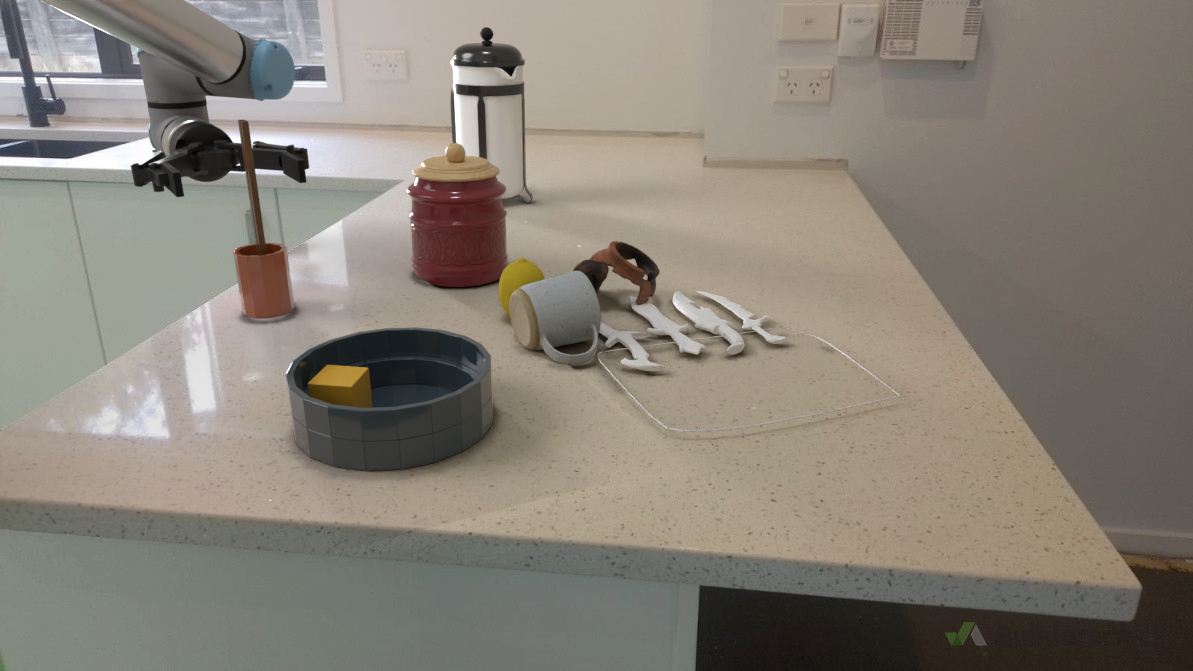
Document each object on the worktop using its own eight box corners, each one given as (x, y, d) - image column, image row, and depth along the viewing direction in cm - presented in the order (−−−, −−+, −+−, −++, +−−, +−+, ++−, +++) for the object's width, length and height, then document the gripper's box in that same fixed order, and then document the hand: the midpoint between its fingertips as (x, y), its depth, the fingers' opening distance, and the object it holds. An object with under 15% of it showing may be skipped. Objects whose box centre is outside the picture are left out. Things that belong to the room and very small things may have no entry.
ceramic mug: (507, 339, 94) (503, 274, 91) (572, 324, 97) (570, 261, 94) (548, 376, 85) (545, 306, 82) (618, 358, 89) (617, 290, 86)
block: (312, 424, 74) (307, 383, 72) (331, 403, 77) (326, 364, 76) (356, 427, 73) (351, 386, 72) (372, 406, 77) (369, 367, 76)
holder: (238, 323, 97) (227, 256, 94) (251, 306, 102) (241, 242, 99) (288, 322, 98) (279, 256, 94) (298, 305, 103) (290, 242, 100)
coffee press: (542, 192, 161) (541, 26, 149) (521, 213, 146) (517, 30, 135) (456, 188, 163) (447, 24, 152) (426, 207, 149) (415, 27, 137)
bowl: (273, 481, 66) (263, 414, 64) (316, 386, 82) (309, 329, 80) (492, 472, 68) (490, 406, 66) (493, 380, 84) (491, 325, 82)
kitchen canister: (507, 288, 109) (503, 152, 103) (406, 289, 109) (396, 152, 102) (509, 259, 121) (506, 135, 115) (419, 259, 120) (410, 134, 114)
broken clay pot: (601, 287, 112) (632, 237, 109) (646, 332, 108) (680, 281, 104) (540, 284, 103) (573, 229, 100) (587, 333, 98) (622, 277, 95)
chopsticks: (269, 312, 99) (241, 121, 90) (265, 308, 100) (237, 119, 91) (275, 311, 99) (248, 121, 90) (271, 307, 100) (244, 119, 92)
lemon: (502, 333, 95) (500, 266, 92) (497, 316, 100) (495, 251, 97) (550, 330, 96) (549, 264, 93) (543, 313, 101) (542, 249, 98)
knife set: (735, 288, 111) (736, 280, 110) (914, 403, 80) (915, 392, 80) (549, 309, 102) (549, 300, 102) (670, 446, 72) (671, 435, 72)
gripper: (296, 167, 120) (351, 196, 104) (99, 188, 107) (127, 225, 91) (289, 114, 117) (345, 135, 102) (86, 128, 104) (113, 155, 88)
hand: (242, 178), depth 96 cm, fingers open, 13 cm apart
